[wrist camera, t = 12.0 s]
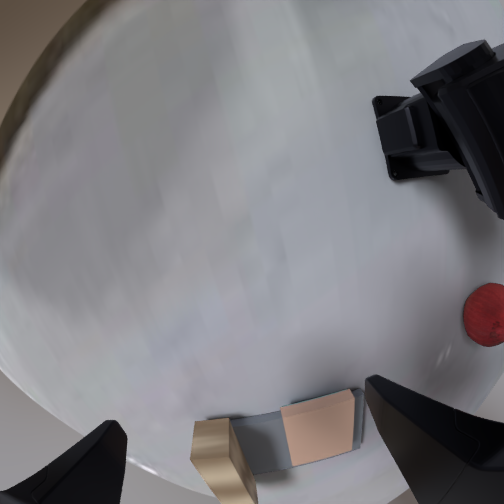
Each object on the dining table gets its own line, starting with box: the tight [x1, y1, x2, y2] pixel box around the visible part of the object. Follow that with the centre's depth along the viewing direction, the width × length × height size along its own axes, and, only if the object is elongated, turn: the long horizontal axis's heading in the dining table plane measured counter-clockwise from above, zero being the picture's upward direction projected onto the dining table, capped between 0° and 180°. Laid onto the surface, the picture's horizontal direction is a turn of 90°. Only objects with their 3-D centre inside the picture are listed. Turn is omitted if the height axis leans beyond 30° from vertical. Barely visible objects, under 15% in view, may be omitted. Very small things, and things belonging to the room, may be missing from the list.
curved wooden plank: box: [190, 418, 258, 504], centre depth 19 cm, size 12×3×4 cm, turn 11°
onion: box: [463, 283, 504, 347], centre depth 17 cm, size 6×6×8 cm
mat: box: [230, 389, 364, 475], centre depth 22 cm, size 15×9×1 cm, turn 102°
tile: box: [280, 389, 355, 466], centre depth 21 cm, size 6×2×8 cm
